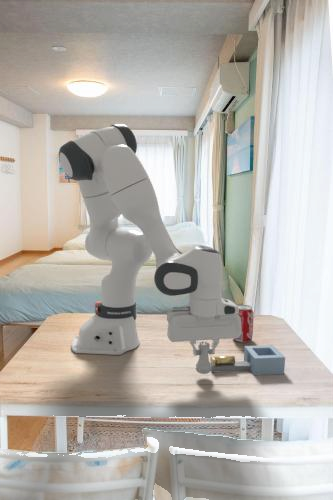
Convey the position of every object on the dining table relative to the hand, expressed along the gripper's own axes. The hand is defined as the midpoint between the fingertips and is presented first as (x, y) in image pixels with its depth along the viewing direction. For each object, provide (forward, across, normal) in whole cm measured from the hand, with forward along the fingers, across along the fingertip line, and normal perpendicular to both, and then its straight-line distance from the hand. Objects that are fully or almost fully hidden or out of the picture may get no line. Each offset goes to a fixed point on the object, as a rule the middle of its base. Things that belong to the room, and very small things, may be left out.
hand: (203, 354), depth 109 cm
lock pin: (+5, +7, +4) cm, 10 cm away
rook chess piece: (+5, 0, 0) cm, 5 cm away
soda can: (+8, +21, +26) cm, 34 cm away
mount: (+7, +14, +4) cm, 16 cm away
